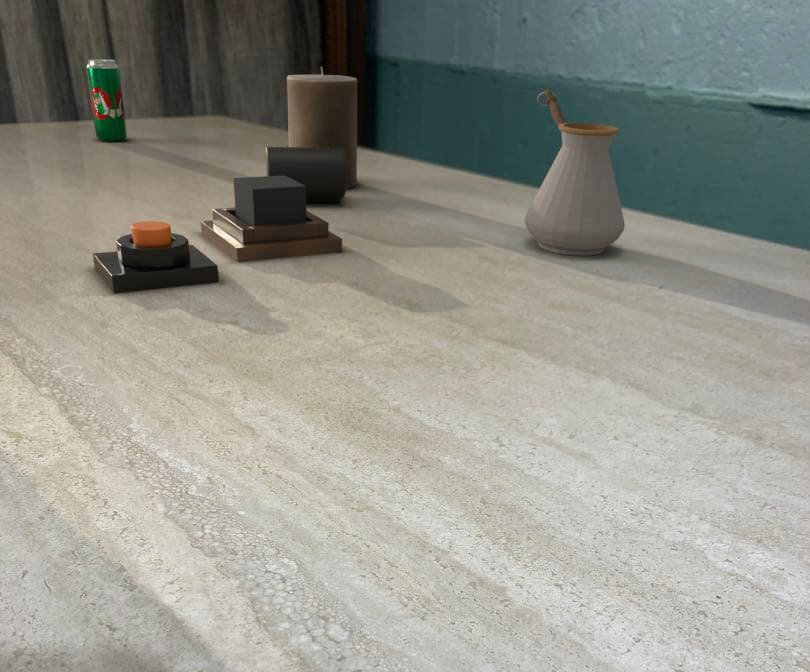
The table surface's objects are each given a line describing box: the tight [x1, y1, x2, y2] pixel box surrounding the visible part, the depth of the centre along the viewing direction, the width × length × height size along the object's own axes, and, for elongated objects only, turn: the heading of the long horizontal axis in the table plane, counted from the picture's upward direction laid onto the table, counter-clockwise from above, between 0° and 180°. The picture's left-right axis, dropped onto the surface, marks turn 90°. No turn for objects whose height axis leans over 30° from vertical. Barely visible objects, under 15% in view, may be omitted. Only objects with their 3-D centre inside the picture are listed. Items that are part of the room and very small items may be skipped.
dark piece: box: [92, 232, 220, 294], centre depth 84 cm, size 10×8×4 cm
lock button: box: [130, 220, 172, 246], centre depth 83 cm, size 4×4×2 cm
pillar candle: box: [286, 66, 358, 191], centre depth 121 cm, size 10×10×15 cm
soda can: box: [86, 58, 128, 143], centre depth 144 cm, size 5×5×12 cm
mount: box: [200, 206, 343, 263], centre depth 96 cm, size 12×12×3 cm
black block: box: [233, 175, 307, 227], centre depth 95 cm, size 6×6×5 cm
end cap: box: [265, 145, 347, 204], centre depth 113 cm, size 10×7×7 cm
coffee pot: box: [524, 88, 626, 256], centre depth 101 cm, size 21×12×15 cm, turn 10°
